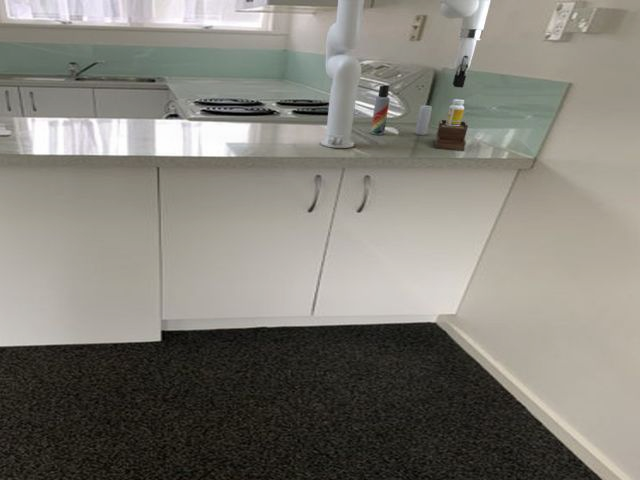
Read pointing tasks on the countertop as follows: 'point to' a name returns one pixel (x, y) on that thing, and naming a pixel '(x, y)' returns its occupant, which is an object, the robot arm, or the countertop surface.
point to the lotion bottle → (380, 111)
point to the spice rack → (451, 136)
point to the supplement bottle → (455, 113)
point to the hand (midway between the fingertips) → (457, 86)
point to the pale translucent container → (423, 120)
